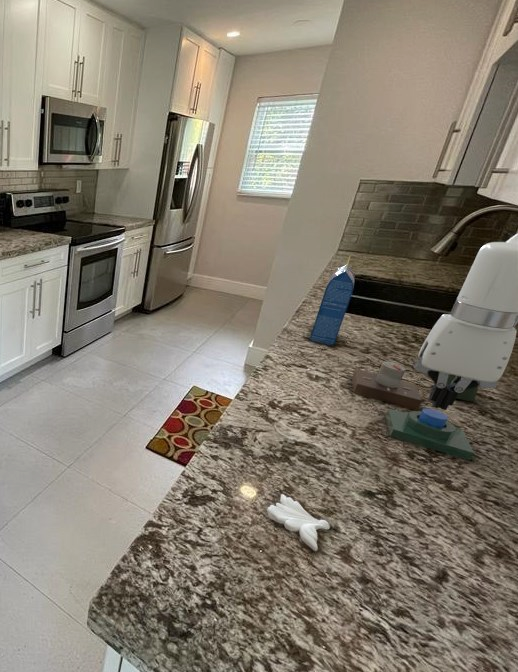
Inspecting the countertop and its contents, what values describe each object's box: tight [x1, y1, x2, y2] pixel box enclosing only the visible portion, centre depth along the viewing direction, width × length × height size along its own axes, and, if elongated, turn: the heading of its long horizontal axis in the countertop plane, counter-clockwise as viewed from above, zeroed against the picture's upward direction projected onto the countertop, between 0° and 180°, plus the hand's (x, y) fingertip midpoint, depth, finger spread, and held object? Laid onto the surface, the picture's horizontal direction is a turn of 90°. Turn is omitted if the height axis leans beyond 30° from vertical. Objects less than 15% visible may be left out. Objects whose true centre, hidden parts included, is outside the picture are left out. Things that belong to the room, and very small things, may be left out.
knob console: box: [351, 368, 423, 411], centre depth 94 cm, size 11×9×3 cm
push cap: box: [418, 408, 449, 428], centre depth 78 cm, size 4×4×2 cm
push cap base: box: [384, 408, 475, 461], centre depth 79 cm, size 11×9×4 cm
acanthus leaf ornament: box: [266, 493, 331, 552], centre depth 59 cm, size 8×7×2 cm
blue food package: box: [308, 256, 356, 347], centre depth 120 cm, size 6×12×25 cm, turn 140°
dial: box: [376, 361, 407, 388], centre depth 93 cm, size 4×4×5 cm
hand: (438, 405), depth 77 cm, fingers closed
